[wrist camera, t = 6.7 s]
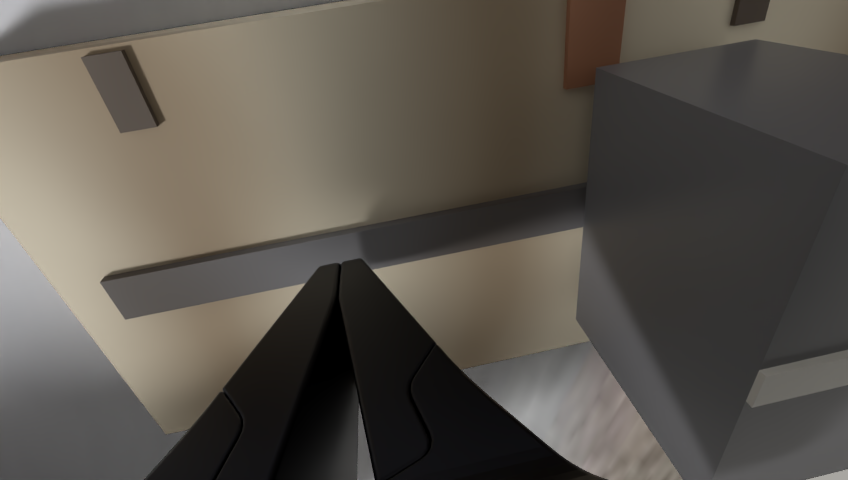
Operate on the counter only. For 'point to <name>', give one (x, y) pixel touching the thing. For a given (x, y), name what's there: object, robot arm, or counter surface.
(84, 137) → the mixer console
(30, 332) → the counter surface
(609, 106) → the fader knob
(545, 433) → the counter surface
